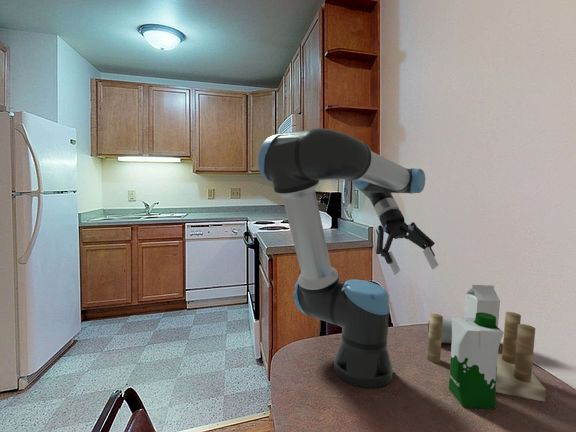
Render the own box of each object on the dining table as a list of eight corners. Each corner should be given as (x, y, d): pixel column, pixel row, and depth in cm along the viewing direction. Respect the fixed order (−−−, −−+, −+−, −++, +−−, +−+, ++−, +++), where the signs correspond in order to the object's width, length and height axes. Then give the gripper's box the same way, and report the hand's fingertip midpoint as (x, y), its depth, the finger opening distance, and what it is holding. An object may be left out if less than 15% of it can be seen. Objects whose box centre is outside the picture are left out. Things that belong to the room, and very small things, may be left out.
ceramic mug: (461, 348, 100) (462, 324, 99) (434, 345, 101) (435, 322, 100) (447, 334, 110) (449, 312, 110) (423, 332, 111) (424, 310, 111)
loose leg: (427, 361, 91) (430, 317, 90) (426, 355, 94) (429, 313, 93) (440, 363, 90) (443, 318, 89) (439, 358, 93) (441, 314, 92)
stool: (467, 386, 79) (472, 324, 78) (455, 356, 94) (459, 303, 93) (544, 401, 74) (550, 335, 73) (518, 367, 89) (523, 311, 88)
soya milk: (502, 412, 70) (509, 323, 68) (460, 410, 70) (466, 321, 69) (479, 388, 78) (485, 309, 77) (442, 386, 79) (447, 307, 77)
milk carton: (496, 346, 101) (501, 288, 100) (474, 346, 101) (478, 287, 100) (483, 337, 108) (487, 282, 107) (462, 336, 108) (466, 281, 107)
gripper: (415, 217, 115) (443, 270, 103) (352, 223, 108) (375, 280, 96) (425, 205, 109) (457, 259, 97) (360, 210, 102) (385, 268, 91)
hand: (416, 269), depth 97 cm, fingers open, 13 cm apart
